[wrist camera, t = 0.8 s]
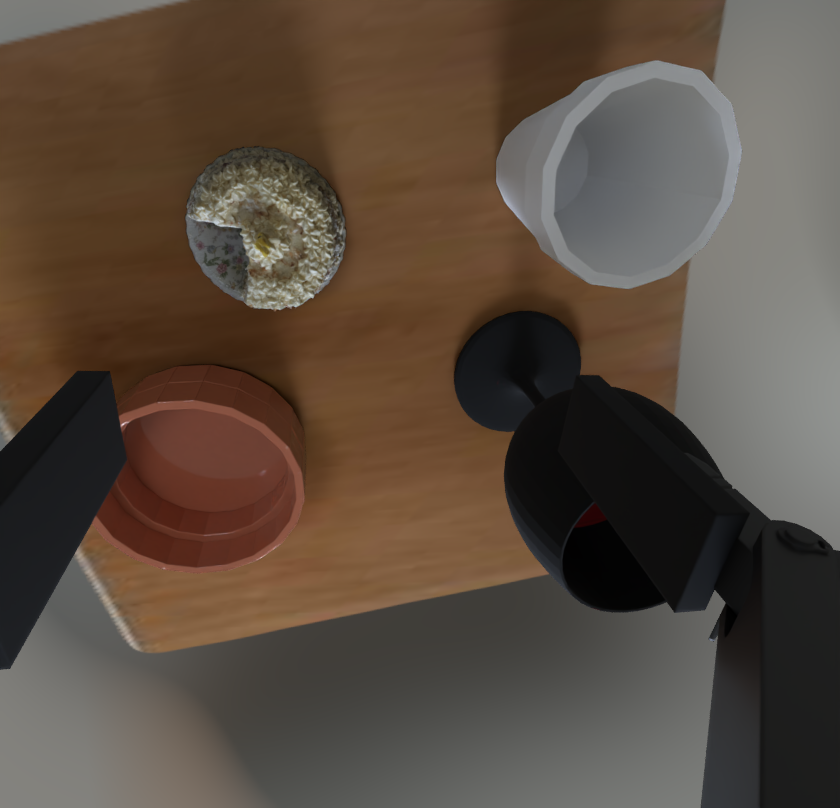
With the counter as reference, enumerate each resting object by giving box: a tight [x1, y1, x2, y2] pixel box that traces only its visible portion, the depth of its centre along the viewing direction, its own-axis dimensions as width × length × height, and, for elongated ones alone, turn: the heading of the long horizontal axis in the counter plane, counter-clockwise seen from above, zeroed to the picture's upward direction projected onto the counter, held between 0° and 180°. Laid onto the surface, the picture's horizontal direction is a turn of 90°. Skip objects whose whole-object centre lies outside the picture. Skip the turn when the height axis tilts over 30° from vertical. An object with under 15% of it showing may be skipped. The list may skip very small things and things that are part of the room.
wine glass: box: [454, 311, 723, 612], centre depth 34 cm, size 10×10×20 cm
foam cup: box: [496, 60, 742, 289], centre depth 30 cm, size 10×9×13 cm
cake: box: [185, 146, 346, 311], centre depth 32 cm, size 10×10×5 cm
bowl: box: [92, 365, 306, 574], centre depth 38 cm, size 14×14×6 cm
